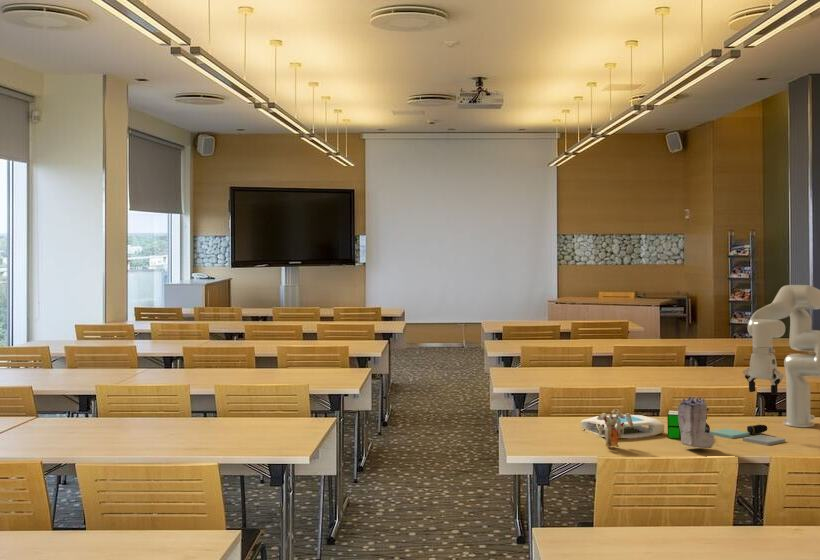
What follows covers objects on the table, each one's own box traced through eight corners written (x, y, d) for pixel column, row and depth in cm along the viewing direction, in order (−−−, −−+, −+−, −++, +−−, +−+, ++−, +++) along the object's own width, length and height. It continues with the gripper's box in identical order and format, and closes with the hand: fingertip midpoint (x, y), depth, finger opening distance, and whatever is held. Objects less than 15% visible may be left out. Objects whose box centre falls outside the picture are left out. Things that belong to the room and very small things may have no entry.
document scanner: (580, 431, 349) (580, 416, 349) (635, 427, 358) (635, 413, 358) (608, 440, 329) (608, 425, 329) (665, 435, 339) (665, 421, 339)
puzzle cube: (693, 435, 338) (693, 411, 338) (693, 439, 329) (693, 415, 329) (668, 433, 342) (668, 410, 342) (667, 438, 332) (667, 414, 332)
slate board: (760, 437, 333) (760, 434, 333) (785, 442, 324) (785, 439, 324) (742, 440, 326) (742, 437, 326) (767, 445, 317) (767, 442, 317)
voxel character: (621, 444, 320) (620, 406, 320) (634, 449, 311) (634, 410, 311) (595, 446, 317) (595, 407, 317) (608, 451, 308) (607, 411, 308)
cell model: (718, 450, 308) (718, 398, 308) (692, 452, 306) (692, 399, 306) (700, 444, 320) (700, 393, 320) (675, 445, 319) (675, 394, 318)
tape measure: (769, 432, 336) (767, 423, 337) (756, 434, 334) (754, 425, 334) (757, 433, 343) (755, 424, 343) (744, 435, 340) (742, 426, 341)
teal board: (726, 431, 346) (726, 428, 346) (749, 435, 337) (749, 432, 337) (709, 434, 340) (709, 431, 340) (731, 438, 331) (731, 435, 331)
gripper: (787, 352, 323) (788, 394, 323) (749, 349, 337) (749, 389, 337) (777, 353, 319) (777, 396, 319) (738, 350, 333) (738, 391, 333)
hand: (763, 393), depth 328 cm, fingers open, 9 cm apart
